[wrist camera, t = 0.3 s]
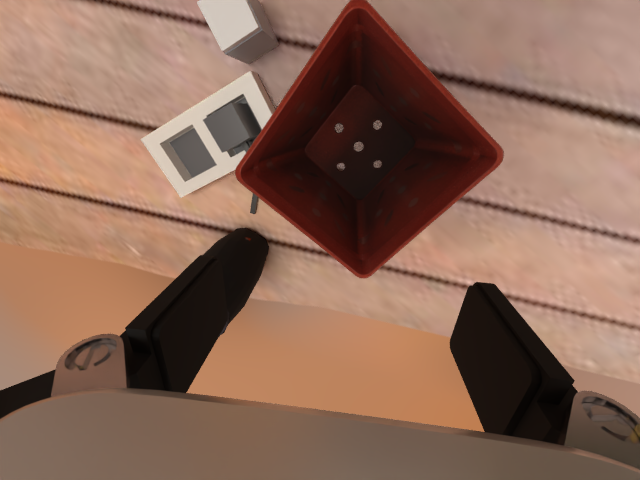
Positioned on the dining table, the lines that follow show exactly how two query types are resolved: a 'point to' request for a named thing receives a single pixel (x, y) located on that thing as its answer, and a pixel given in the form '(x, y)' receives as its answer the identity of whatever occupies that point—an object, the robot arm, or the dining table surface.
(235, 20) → the plug
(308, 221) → the plant pot
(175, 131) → the power strip
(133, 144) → the dining table surface
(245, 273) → the portable speaker
